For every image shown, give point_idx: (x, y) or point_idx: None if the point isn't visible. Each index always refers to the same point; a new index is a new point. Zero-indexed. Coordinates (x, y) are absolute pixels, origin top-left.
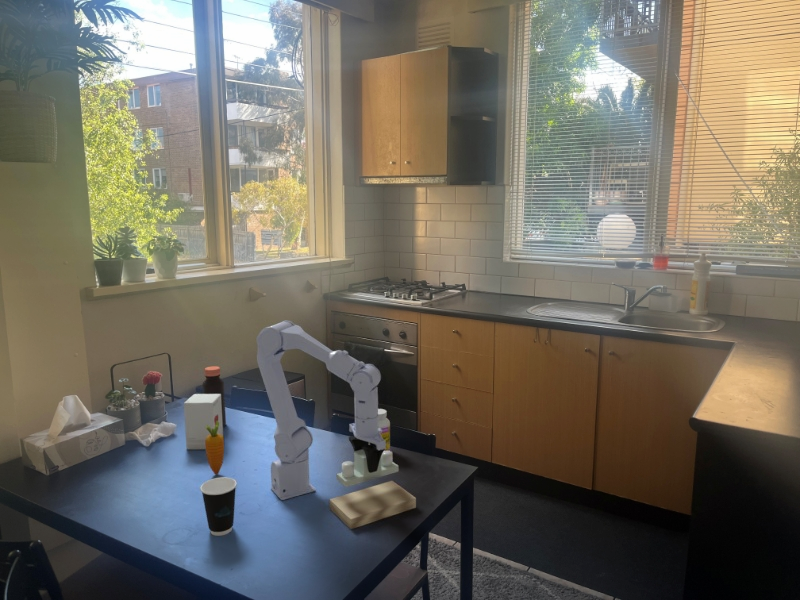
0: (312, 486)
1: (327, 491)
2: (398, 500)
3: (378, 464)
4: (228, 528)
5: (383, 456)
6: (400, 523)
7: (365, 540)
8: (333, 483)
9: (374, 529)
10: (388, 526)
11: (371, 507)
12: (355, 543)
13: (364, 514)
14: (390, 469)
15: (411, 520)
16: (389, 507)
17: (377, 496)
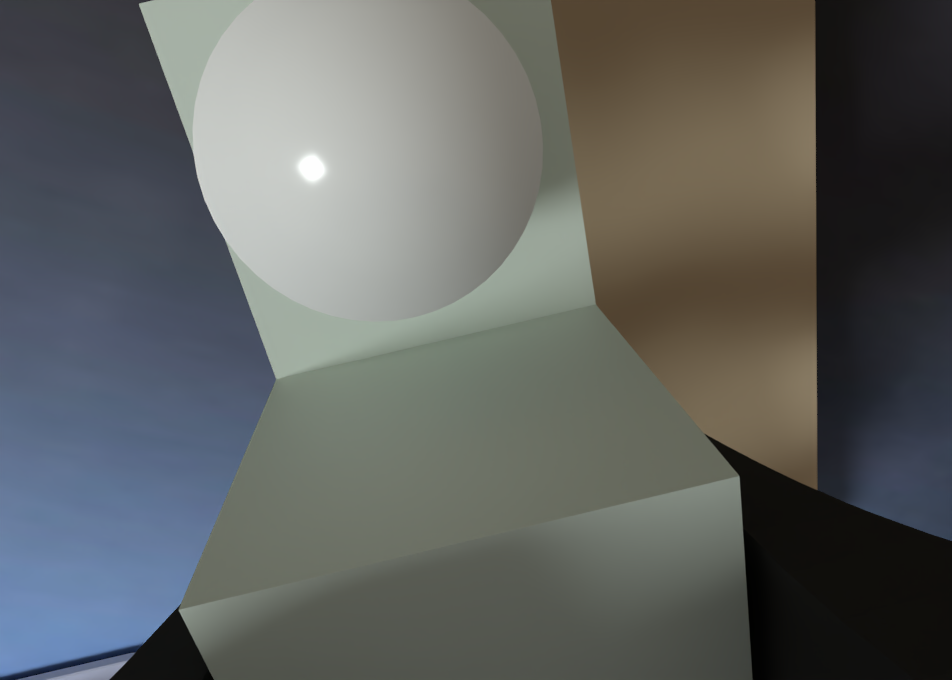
0: (85, 675)
1: (169, 573)
2: (757, 107)
3: (734, 451)
4: None
5: (481, 275)
6: (903, 170)
7: (939, 467)
8: (21, 511)
9: (861, 382)
10: (885, 276)
11: (745, 396)
12: (929, 525)
13: (814, 472)
14: (564, 119)
15: (920, 56)
16: (812, 238)
17: None
